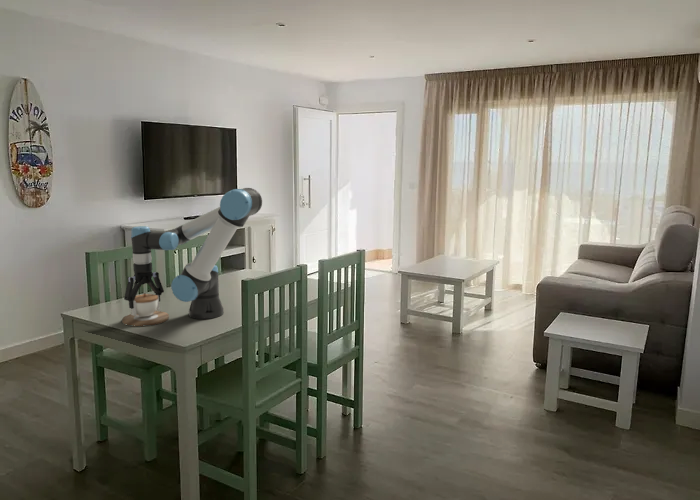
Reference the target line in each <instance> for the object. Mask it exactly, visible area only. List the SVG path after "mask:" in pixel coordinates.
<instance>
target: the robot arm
mask: <svg viewBox="0 0 700 500" xmlns="http://www.w3.org/2000/svg"><path fill="white" fill-rule="evenodd" d="M262 206H263V198H262V196H261V193H259V191H257V190H256V189H254V188H252V187H244V188H234V189H231V190H229V191H227V192H226V193H224V194H223V196H222V197H221V199H220V203H219V206H218V207H217V208H214V209H211V210H210V211H208V212H206V213H204V214H202V215H199V216H198V217H196V218H194V219H192V220H190V221H188V222H185V223H183V224H182V225H179V226H177V227H176V228H172V229H167V230H164V231H151V228H150V226H146V225H142V226H141V225H140V226H133V227H132V228H131V231H130V232H131V237H130V238H131V247H132V249H131V251H132V262H133V264H132V267H133V276H128V277H127V284H126V289H125V293H124V296H123V300H125V301H128V306H129V309H130V311H131V312H130V314H131V315H133V316H137V312H136V301H134V299H135V297H136V296H137V295H138V292H139V290H140V288H141V287H142V286H143V285H146V284H148V285H149V287H150V288H151V289H152V291H153V294H154V295H157V296H158V306H157V309H156V311H160V302H161V296H162V293H164V291H165V290H164V287H163V285H162V282H161V279H160V274H159V272H158V271H157V272H156V271H153V263H152V262H153V259H152V250H157V251H158V250H159V251H174V250H176V249H177V247H178V246H180V245H181V246H182V245H185V244H187V243H188V242H190V241H192V240H194V239H195V238H198V237H199V236H201V235H204V234H206V233H208V232H209V233H208V235H207V237H206V238H205V240H204V241H203V243H202V245H201V246H200V248H199V250H198V251H197V253H196V255H195V257H194V258H193V260H192V261H191V262H189V263H186V264H185V266H184V268H183V270H181V273H180V274H178V275H177V276H175V277H174V278H173V279H172V281H171V285H170V287H171V291H172V294H173V295H174V298H176V299H177V300H179V301H180V302H182V303H186V302H187V303H188V302H190V305H189V309H188V316H189V317H190V318H193V319H198V320H206V319H215V318H218V317H220V316H222V315H224V311H225V310H224V306H223V304H222V301H221V299H220V294H219V293H220V291H219V289H220V288H219V287H220V286H219V285H220V284H219V281H220V280H219V273H220V272H219V269H218V265H216V264H217V262H218V261H219V259H220V258H221V256H222V254H223V253H224V251H225V249H226V248H227V246H228V244H229V243H230V241H231V240H232V238H233V237H234V235H235V233H236V231H237V230H238V229H239V228H243V227H244V226H245V224H246V222H247V221H248V219H249V218H250V217H251V216H254V215H256V214H257V213H258V212H260V210H261V208H262ZM152 278H153V279H152Z"/></svg>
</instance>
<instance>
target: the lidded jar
mask: <svg viewBox="0 0 700 500" xmlns="http://www.w3.org/2000/svg"><path fill="white" fill-rule="evenodd" d="M134 301H136V312H137V314H138V316H150V315H153V313H154V312H155V311H157V310H156V309H157V306H158V296H157V295H156V294H154V293H153V294H152V293H151V294H150V293H146V292H145V293H142V294H137V295H136V297H135V299H134Z"/></svg>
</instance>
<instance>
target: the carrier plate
mask: <svg viewBox="0 0 700 500" xmlns="http://www.w3.org/2000/svg"><path fill="white" fill-rule="evenodd" d="M169 319H170V315H169V313H168V312H166V311H162V310H161V311H160V310H156V311H155V312H154V313H153V315H150V316H138V314H137V316H133V315H131V313H129V314H127V315H125V316H124V317H122V319H121V320H122V324H123V323H124V324H123V325H125V324H127V325H133V326H132V327H136V326H140V327H144V326H143V325H151V326H155V324H156V325H159V324H162V323H165V322H167V321H168V320H169ZM127 325H126V326H127ZM134 325H135V326H134Z"/></svg>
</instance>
